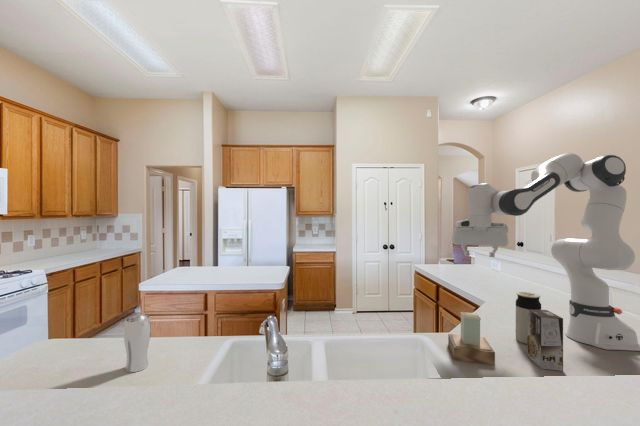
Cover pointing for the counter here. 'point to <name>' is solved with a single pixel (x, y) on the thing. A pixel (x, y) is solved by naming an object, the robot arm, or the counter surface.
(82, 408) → the counter surface
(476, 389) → the counter surface
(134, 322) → the beer glass
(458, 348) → the square wooden tray
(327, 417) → the counter surface
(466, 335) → the tea tin
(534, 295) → the travel mug
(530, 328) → the coffee box
